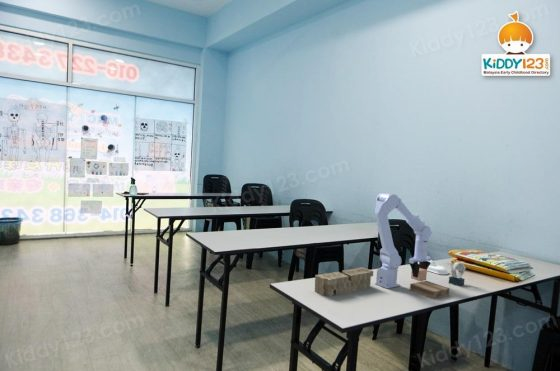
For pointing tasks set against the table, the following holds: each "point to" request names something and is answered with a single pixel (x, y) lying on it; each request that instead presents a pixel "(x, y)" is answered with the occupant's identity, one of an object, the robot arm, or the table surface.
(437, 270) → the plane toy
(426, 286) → the base block
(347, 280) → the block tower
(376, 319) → the table surface
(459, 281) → the watch
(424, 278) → the cube
